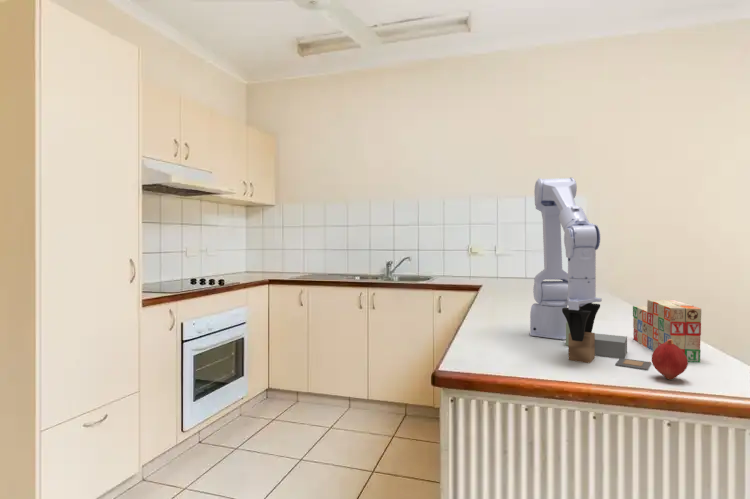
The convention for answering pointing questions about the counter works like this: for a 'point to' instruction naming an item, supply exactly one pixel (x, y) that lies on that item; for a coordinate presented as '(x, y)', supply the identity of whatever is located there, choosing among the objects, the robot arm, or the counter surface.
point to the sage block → (567, 334)
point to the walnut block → (582, 348)
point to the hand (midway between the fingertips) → (581, 337)
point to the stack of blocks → (669, 326)
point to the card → (633, 364)
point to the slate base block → (610, 346)
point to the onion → (669, 360)
